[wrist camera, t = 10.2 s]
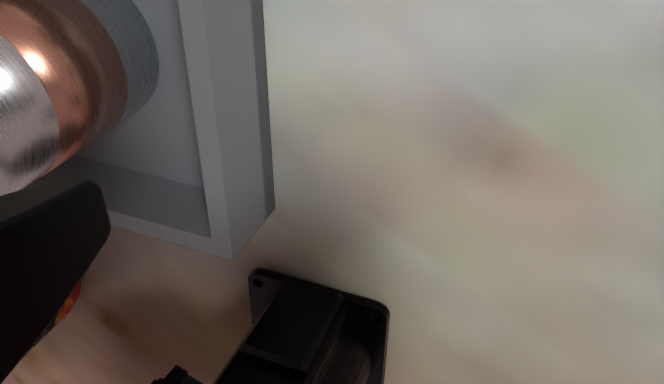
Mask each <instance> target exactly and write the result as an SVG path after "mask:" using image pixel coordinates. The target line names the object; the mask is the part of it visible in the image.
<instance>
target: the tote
mask: <svg viewBox="0 0 664 384" xmlns="http://www.w3.org/2000/svg"><path fill="white" fill-rule="evenodd" d="M132 1H133V3H134V4H135V5H136V6H137V8H138V9H139V11H140V12H141V14H142V15H143V17H144V19H145V20H146V22H147V24H148V26H149V28H150V30H151V33H152V35H153V38H154V41H155V44H156V47H157V52H158V57H159V78H158V83H157V87H156V90H155V92H154V94H153V96H152V97H151V98H150V100H149V101H148V102H147V103H146V104H145V105H143V106H142V107H141V108H139V109H138V110H136V111H135V112H133V113H132V114H130V115H129V116H127V117H126V118H125V119H123V120H122V121H120V122H119V123H118V124H117V125H116V126H115V127H114V128H113V129H111V130H110V131H108V132H107V133H105V134H104V135H102V136H101V137H99V138H98V139H97V140H95V141H94V142H92V143H91V144H89V145H88V146H86V147H85V148H84V149H82V150H81V151H79V152H78V153H76V154H75V155H73V156H72V157H71V158H69V159H68V160H66V161H65V162H63V163H62V164H60V165H59V166H57V167H56V168H55V169H53V170H52V171H50V172H49V173H47V174H45V175H44V176H41V177H39V178H37V179H36V180H34V181H33V182H31V183H30V184H28V185H27V186H26V187H24V188H23V189H25V188H29V187H32V186H36V185H39V184H42V183H46V182H49V181H52V180H56V179H59V178H63V177H66V176H70V175H76V176H81V177H85V178H88V179H92V180H95V181H96V182H98V183H99V185H100V186H101V188H102V191H103V195H104V199H105V203H106V207H107V210H108V214H109V218H110V223H111V226H113V227H116V228H120V229H123V230H127V231H130V232H134V233H137V234H141V235H144V236H148V237H151V238H155V239H158V240H162V241H165V242H169V243H172V244H176V245H179V246H183V247H186V248H190V249H193V250H197V251H200V252H204V253H207V254H211V255H214V256H218V257H221V258H225V259H228V260H232V261H233V260H234V259H235V257H236V256H237V255H238V254H239V252H240V251H241V250H242V249H243V247H244V246H245V245H246V244H247V242H248V241H249V240H250V239H251V237H252V236H253V235H254V234H255V232H256V231H257V230H258V229H259V228H260V226H261V225H262V224H263V223H264V221H265V220H266V219H267V218H268V216H269V215H270V214H271V213H272V211H273V210H274V209H275V200H274V184H273V167H272V151H271V134H270V118H269V101H268V85H267V68H266V52H265V35H264V19H263V2H262V0H132ZM21 190H22V189H21Z"/></svg>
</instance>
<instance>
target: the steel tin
mask: <svg viewBox="0 0 664 384" xmlns="http://www.w3.org/2000/svg"><path fill="white" fill-rule="evenodd" d="M158 78H159V57H158V52H157V47H156V44H155V41H154V38H153V35H152V33H151V30H150V28H149V26H148V24H147V22H146V20H145V19H144V17H143V15H142V14H141V12H140V11H139V9H138V8H137V6H136V5H135V4H134V3H133V1H132V0H0V196H2V195H5V194H8V193H12V192H15V191H19V190H21V189H23V188H24V187H26V186H27V185H28V184H30V183H31V182H33V181H34V180H36V179H37V178H39V177H41V176H44V175H45V174H47V173H49V172H50V171H52V170H53V169H55V168H56V167H57V166H59V165H60V164H62V163H63V162H65V161H66V160H68V159H69V158H71V157H72V156H73V155H75V154H76V153H78V152H79V151H81V150H82V149H84V148H85V147H86V146H88V145H89V144H91V143H92V142H94V141H95V140H97V139H98V138H99V137H101V136H102V135H104V134H105V133H107V132H108V131H110V130H111V129H113V128H114V127H115V126H116V125H117V124H118V123H119V122H120V121H122V120H123V119H125V118H126V117H127V116H129V115H130V114H132V113H133V112H135V111H136V110H138V109H139V108H141V107H142V106H143V105H145V104H146V103H147V102H148V101H149V100H150V98H151V97H152V96H153V94H154V92H155V90H156V87H157V83H158Z"/></svg>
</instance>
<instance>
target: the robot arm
mask: <svg viewBox="0 0 664 384" xmlns="http://www.w3.org/2000/svg"><path fill="white" fill-rule="evenodd" d="M110 229H111V223H110V218H109V214H108V210H107V207H106V203H105V199H104V195H103V191H102V188H101V186H100V185H99V183H98V182H96V181H95V180H92V179H88V178H85V177H81V176H76V175H70V176H66V177H63V178H59V179H56V180H52V181H49V182H46V183H42V184H39V185H36V186H32V187H29V188H25V189H22V190H19V191H15V192H12V193H8V194H5V195H2V196H0V384H1V383H2V382H3V380H5V378H6V377H7V376H8V375H9V373H10V372H11V371H12V370H13V369H14V367H15V366H16V365H17V364H18V362H19V361H20V360H21V359H22V358H23V356H24V355H25V354H26V353H27V351H28V350H29V349H30V348H31V346H32V345H33V344H34V343H35V342H36V340H37V339H38V338H39V337H40V335H41V334H42V333H43V332H44V331H45V329H46V328H47V327H48V325H49V324H50V323H51V322H52V320H53V319H54V318H55V316H56V315H57V313H58V312H59V311H60V309H61V308H62V306H63V305H64V303H65V302H66V300H67V299H68V297H69V296H70V294H71V293H72V291H73V290H74V288H75V287H76V285H77V284H78V282H79V281H80V279H81V278H82V276H83V275H84V273H85V272H86V270H87V269H88V267H89V266H90V264H91V263H92V261H93V260H94V258H95V257H96V255H97V254H98V252H99V251H100V249H101V248H102V246H103V245H104V243H105V242H106V240H107V239H108V236H109V234H110ZM260 280H261V281H260ZM248 283H249V293H250V303H251V313H252V323H253V326H252V327H251V328H250V330H249V331H248V333H247V334H246V336H245V337H244V339H243V340H242V342H241V343H240V345H239V346H238V348H237V349H236V351H235V352H234V354H233V355H232V357H231V358H230V360H229V361H228V363H227V364H226V365H225V367H224V368H223V370H222V371H221V373H220V374H219V376H218V377H217V379H216V380H215V382H214V383H213V384H384V376H385V364H386V353H387V341H388V329H389V318H390V313H389V310H388V309H387V307H386V306H384V305H383V304H381V303H378V302H374V301H371V300H367V299H364V298H360V297H357V296H353V295H350V294H346V293H343V292H339V291H336V290H332V289H329V288H325V287H322V286H318V285H315V284H311V283H308V282H304V281H301V280H297V279H294V278H291V277H287V276H284V275H280V274H277V273H273V272H270V271H266V270H263V269H255V270H254V271H253V272H252V274H251V275H250V276H249V278H248ZM375 313H376V314H378V315H379V316H378V315H376V314H375ZM151 384H203V383H201V382H200V381H198V380H196V379H195V378H193V377H191V376H190V375H188V371H186V370H185V369H183V368H181V367H180V366H178V365H176V366H175V367H174V368H173V369H172V370H171V371H170V372H169V373H168V375H167V376H166V377H165V378H164V379H162V378H159V379H158V380H154V381H153V382H152V383H151Z"/></svg>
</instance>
